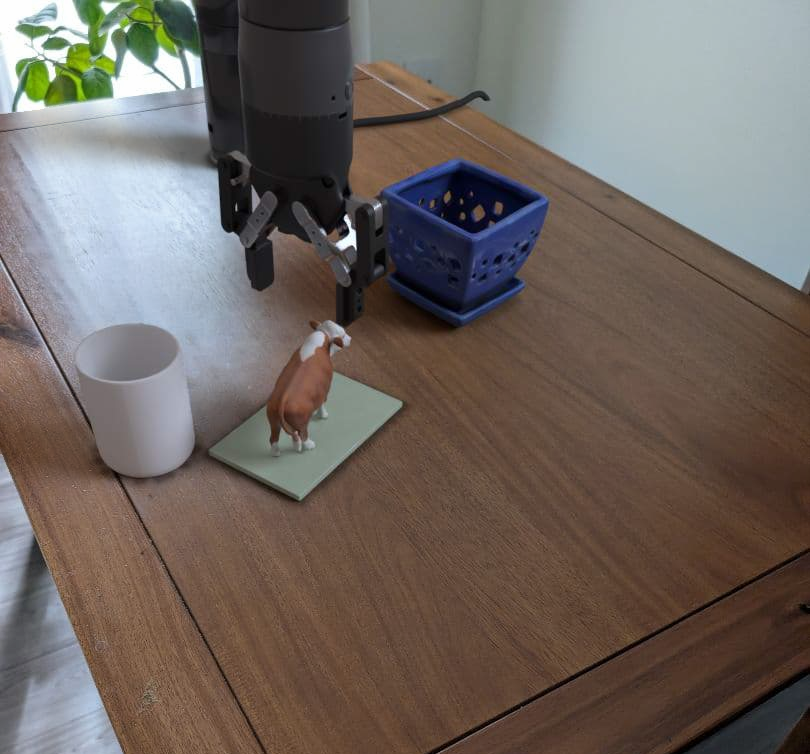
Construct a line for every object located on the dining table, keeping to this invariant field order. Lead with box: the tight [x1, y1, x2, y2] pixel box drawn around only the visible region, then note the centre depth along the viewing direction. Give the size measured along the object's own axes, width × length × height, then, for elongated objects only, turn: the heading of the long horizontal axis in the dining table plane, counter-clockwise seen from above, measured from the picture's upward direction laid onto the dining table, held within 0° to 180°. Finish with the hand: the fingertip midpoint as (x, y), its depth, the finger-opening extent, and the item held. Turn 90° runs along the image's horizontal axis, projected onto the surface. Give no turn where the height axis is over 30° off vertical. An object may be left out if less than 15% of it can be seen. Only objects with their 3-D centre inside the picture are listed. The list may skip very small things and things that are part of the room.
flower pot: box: [379, 157, 550, 328], centre depth 91 cm, size 13×13×12 cm
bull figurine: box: [266, 319, 352, 457], centre depth 75 cm, size 4×13×8 cm, turn 161°
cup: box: [73, 322, 196, 479], centre depth 73 cm, size 8×12×10 cm
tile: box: [208, 370, 403, 502], centre depth 79 cm, size 16×10×1 cm, turn 147°
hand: (304, 304), depth 69 cm, fingers open, 8 cm apart
